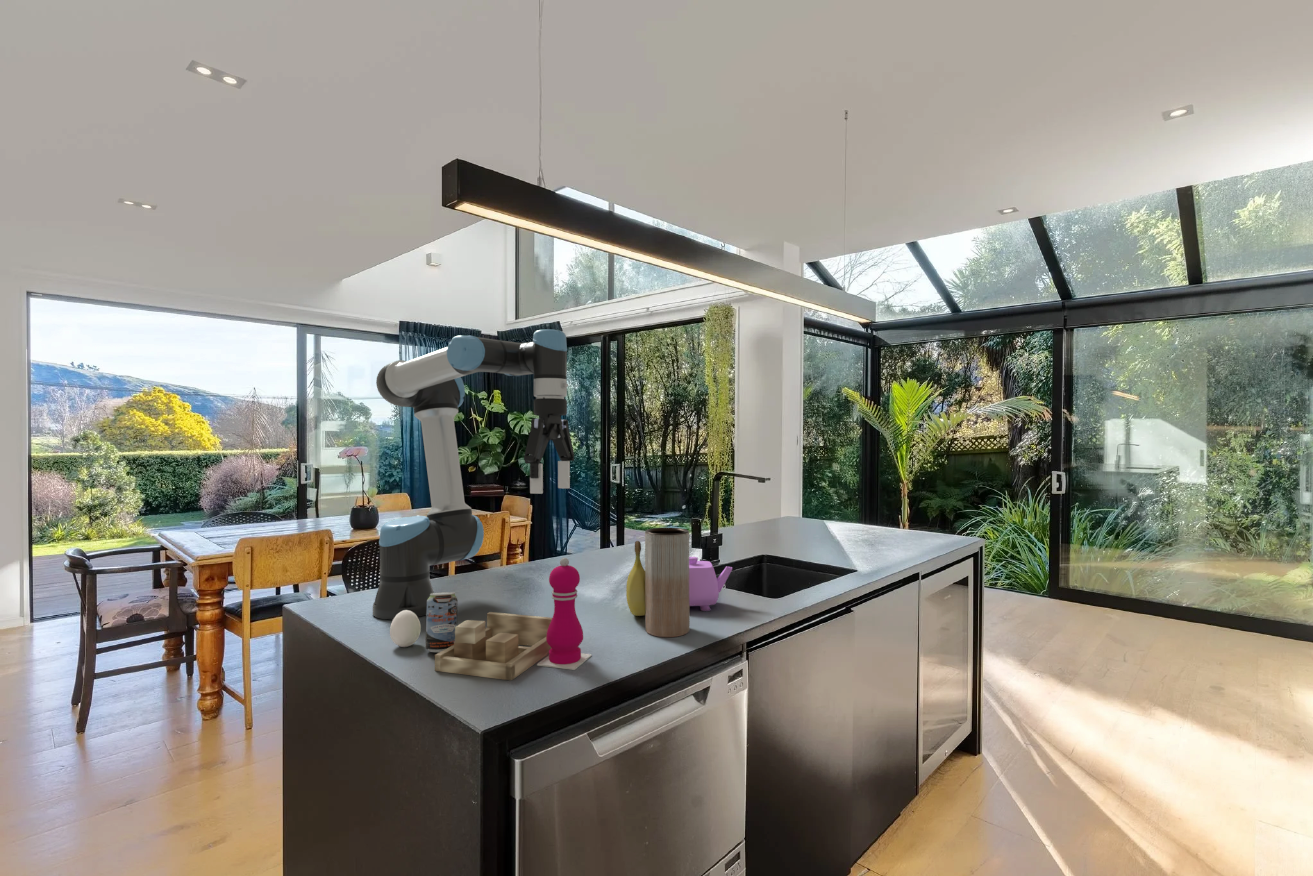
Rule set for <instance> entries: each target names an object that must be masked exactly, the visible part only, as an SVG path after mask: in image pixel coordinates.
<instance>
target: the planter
mask: <svg viewBox="0 0 1313 876" xmlns="http://www.w3.org/2000/svg"><path fill="white" fill-rule="evenodd" d="M689 557H690V531H689V530H688V529H687V528H683V527H681V528H680V527H653V528H649V529H646V530H645V531H644V570H645V615H644V618H645V623H644V625H645V632H646V633H647V634H648V635H651V636H655V637H659V638H677V637H680V636H683V635H686V634H688V633H689V632H690V619H691V618H690V617H691V616H690V607H691V606H690V603H689Z"/></svg>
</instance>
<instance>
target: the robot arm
mask: <svg viewBox="0 0 1313 876" xmlns="http://www.w3.org/2000/svg"><path fill="white" fill-rule="evenodd" d="M532 336H533V337H532V341H528V342H514V341H507V340H499V339H492V338H487V337H479V336H475V335H461V334H460V335H456V336H453V337H452V339H451V341H449V342H448V345H447V346H445V347H443V348H441V349H437V350H435V351H432V352H429V353H427V354H424V355H422V356H418V357H415V358H412V359H410V360H402V359H401V360H396V361H392V362H389V363H388V364H386V365H384V366H383V367H382V368H381V369H380V370H379V372H378V373H377V376H376V383H375V384H376V388H377V389H376V390H377V391H378V393H379V394H380V397H382V398H383V399H384V400H385V401H387V402H388V403H390V404H391V405H394V406H397V407H402V408H413V415H414V417H415V418H416V419H417V420H419V421H420V424H421V432H422V439H423V446H424V447H423V448H424V456H425V462H426V463H425V464H426V471H427V479H428V487H429V489H428V490H429V494H430V503H431V508H430V510H429V511H428V512H427V514H426V516H425V515H412V516H405V517H404V516H403V517H400V518H396V519H393V520H392V519H391V520H390V521H388V522H385V523H384V524H382V526H381V527H380V530H379V540H378V545H379V584H378V585H379V586H378V588H377V589H378V590H377V591H376V594H375V598H374V602H373V604H372V616H373V615H374V616H375V618H376V619H381V620H393V619H394V618H395V616H396V615H397V614H398V613H399V612H401V611H404V610H409V611H412V612H413V613H415V614H416V616H417V617H418V618H420V617H423V616H426V615H427V600H428V598H429V597H430V594H431V593H435V590H434V588H433V585H432V582H431V579H430V566H435V565H442V564H447V563H454V562H460V561H461V562H462V561H463V560H466V559H470V558H471V559H472V558H473V557H475V556H476V555H477V554H478V553H479V552H480V549H481V548H482V545H483V543H484V538H485V537H484V535H485V531H484V525H483V522H482V521H481V519H480V518H479V517H478V516H477V515H474V514H473V511H472V507H471V506H469V505H468V504H467V503H466V502H465V495H464V486H463V479H462V471H461V464H460V457H459V449H458V441H457V440H458V439H457V433H456V427H455V420H454V419H455V417H456V416H457V414H459V407H461V406H462V404H463V402H464V401H465V399H464V397H465V394H466V390H465V384H464V381H463V378H462V377H465V376H469V375H473V374H475V373H481V372H482V373H485V372H486V373H496V374H504V375H505V376H508V377H509V376H511V377H512V376H513V377H521V376H526V375H533V396H534V397H535V399H534V400H533V414H534V415H535V416H539V417H538V418H531V421H530V431H529V435H528V438H527V443H526V447H525V452H524V456H523V461H524V462H525V463H524V464H527V465H528V464H529V493H530V494H534V495H535V494H537V495H538V494H541V495H542V494H543V493H544V490H543V489H544V482H543V481H544V479H543V478H544V477H543V476H544V471H543V470H544V469H543V467H544V466H543V464H544V463H541V461H542V458H543V457H544V454H545V452H546V448H547V446H548V445H549V444H548V443H549V442H550V441H552V443H553V445H554V448H555V450H556V453H557V455H558V458H559V460H558V461H557V488H558V489H571V488H570V487H571V486H570V485H571V484H570V483H571V482H570V481H571V480H570V479H571V477H570V476H571V472H570V471H571V470H570V468H571V467H570V465H571V463H570V462H574V461H575V452H574V448H573V443H572V439H571V434H570V429H569V420H568V419H562V416H566V415H567V413H568V400H567V399H566V397H567V387H568V386H569V383H568V382H567V380H568V379H567V378H568V377H567V375H568V374H567V373H568V371H567V370H568V366H567V365H568V360H567V358H568V355H567V354H568V353H567V352H568V347H567V343H568V342H567V335H566V333H565V332H564V331H561V330H559V329H552V328H551V329H549V328H548V329H545V328H544V329H539V330H535V331H534V332H533V335H532ZM374 616H373V617H374Z"/></svg>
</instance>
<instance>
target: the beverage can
mask: <svg viewBox="0 0 1313 876" xmlns="http://www.w3.org/2000/svg"><path fill="white" fill-rule="evenodd" d="M458 600H459V599H458V597H457V596H456V592H452V591H450V592H449V591H445V592H442V591H441V592H434V593H431V594H430V597H429V598H428V600H427V615H425V616H426V617H425V621H426V623H425V645H424V646H425V649H426V650H428V651H429V653H439V652H441V651H443V650H445V649H447V648H449V647H451V646H453V645H454V642H455V627H456V626H458Z"/></svg>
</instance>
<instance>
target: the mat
mask: <svg viewBox="0 0 1313 876" xmlns="http://www.w3.org/2000/svg"><path fill="white" fill-rule="evenodd" d="M591 657H592V654H591V653H584V652H583V653H582V652H581V658H580V660H579V661H577V662H575V663H571V664H555V663H552V662H550V660H549V655H546V656H545V657H544V658H542V659H541V660H539V661H538V662H537V663H536V666H537V667H544V668H545V667H547V668H555V669H563V670H570V671H571V670H573V671H575V670H576V669H578V668H579V667H580V666H581V665H582V664H584V663H585V662H587V660H588V659H590V658H591Z"/></svg>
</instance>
